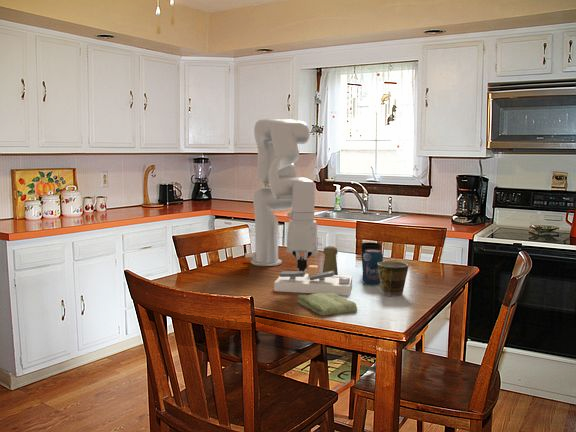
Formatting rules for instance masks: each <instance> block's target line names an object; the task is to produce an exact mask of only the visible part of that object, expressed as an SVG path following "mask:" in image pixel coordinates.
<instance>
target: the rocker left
mask: <svg viewBox="0 0 576 432" xmlns="http://www.w3.org/2000/svg"><path fill="white" fill-rule="evenodd" d="M305 274H306V271H304V272H303V271H299V270H298V271H294V270H291V271H289V270H288V271H287V270H285V271H284V270H282V271H281V272H280V273H279V276H280V277H304V275H305Z"/></svg>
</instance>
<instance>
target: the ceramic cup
mask: <svg viewBox="0 0 576 432" xmlns="http://www.w3.org/2000/svg"><path fill="white" fill-rule="evenodd" d="M408 270H409V264H408V263H406V262H403V261H397V260H396V261H395V260H385V261H384V260H383V262H379V263H378V273H379V277H380V285H379V286H380V291H381V294H383V296H386V297H387V296H388V297H399V296H401V295H403V293H404V288H405V284H406V279H407V277H408V276H407V275H408Z"/></svg>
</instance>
